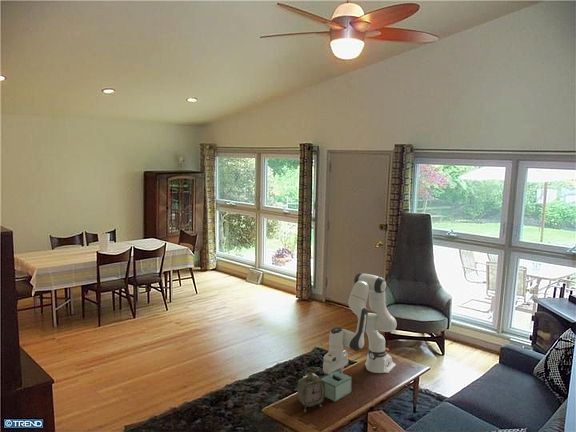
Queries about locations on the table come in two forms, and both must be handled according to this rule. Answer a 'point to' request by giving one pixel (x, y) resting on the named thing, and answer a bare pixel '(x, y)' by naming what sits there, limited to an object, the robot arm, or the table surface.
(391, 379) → the table surface
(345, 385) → the coin box
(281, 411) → the table surface
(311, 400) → the tabletop clock
